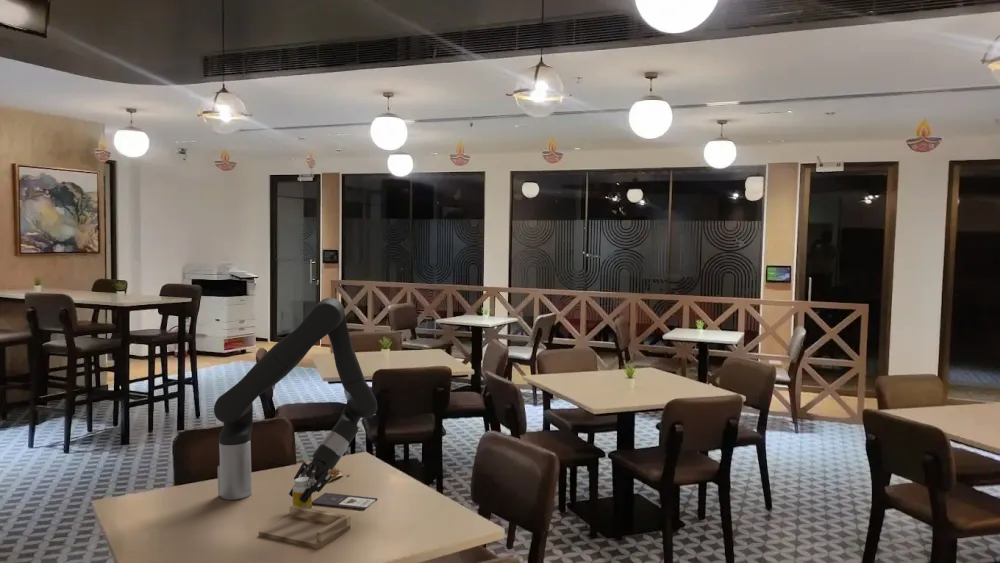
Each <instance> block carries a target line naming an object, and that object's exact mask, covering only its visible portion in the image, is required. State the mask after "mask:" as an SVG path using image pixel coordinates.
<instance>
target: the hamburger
mask: <svg viewBox="0 0 1000 563" xmlns="http://www.w3.org/2000/svg"><path fill="white" fill-rule="evenodd" d="M340 470H341V469H339V468H336V466H335V467H334V468H333V469H332V470H330V469H329V470H328V473H329V474H330V475H332V478H331V479H330V480H329V481H328V482H327V483H330V482H331V481H333V480H336V479H337V478H339V477H340V476H342V475H343V474H342V473H341V471H340ZM345 475H346V476H345V477H346V478H349V476H348V475H349V474H345Z"/></svg>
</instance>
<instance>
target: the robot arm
mask: <svg viewBox="0 0 1000 563" xmlns="http://www.w3.org/2000/svg"><path fill="white" fill-rule="evenodd" d="M326 336H327V337H328V338H329V341H330V343H331V344H330V345H331V348H332V352H333V359H334V364H335V367H336V370H337V374H338V376H339V379H340V382H341V385H342V387H343V389H344V390H345V392H347V393H349V395H350V396H351V398H349V399H348V401H347V402H346V404H345V405H344V408H343V410H342V412H341V414H340V416H339V419H338V421H337V422H336V423H335V425H334V426H333V428H332V429H331V431H329V432H328V434H327V435H326V436H325V437H324V439H322V441H321V443H320V444H319V445H318V447H317V448H316V449H315V451H314V452H313V454H312V459H313V460H311V462H309V463H306V462H305V461H304V462H302V463H301V465H300V467H299V469H298V471H297V472H296V474H295V475H294V477H293V479H294V481H295V479H297V478H300V477H307V478H309V485H308V489H307V488H306V490H305V491H304V492H303V494H302V495H301V497H300V498H299V500H300V501H302V502H303V503H306V501H307V500H308V499H309V497H310V496H311V497H312V495H313V493H316V492H317V493H320V492H321V491H322V489H323V488H324V487H325V486H326V485H327V484H328V483H329V482H328V481H329V480H330V479H331V478H332V475H330V474H329V473H328V470H329V469H330V470H332V469H333V468H334V467H336V465H337V464H338V462H339V461H340V459H341V458H342V456H343V455H344V454H345V452H346V451H347V449H348V448H349V445H350V444H351V442H352V441H353V439H354V438H355V437H356V436H357V434H358V433H359V432H358V431H359V426H358V423H359V421H360V419H361V418H362V419H370V418H372V417H374V416H375V415H376V413H377V411H378V402H377V399H376V397H375V394H374V393H373V390H372V388H370V387H371V386H369V384H368V383H367V381H366V379H365V376H364V373H363V371H362V367H361V366H360V362H359V360H358V357H357V355H356V351H355V350H354V346H353V343H352V339H351V336H350V333H349V329H348V324H347V319H346V314H345V308H344V305H343V304H342V303H341V301H340V300H338V299H336V298H335V297H334V298H333V297H326V298H323V299H322V300H320V301H319V302H318V303H317V304H315V306H313V308H312V309H311V311H310V313H308V315H307V316H306V317H305V318H304V320H303V321H302V322H301V323H300V324H299V325H298V326H297V327H296V328H295V329H294V330H293V331H291V332H290V333H288V335H286V336H284V337H283V338H282V339H280V340H279V341H278V342H277V343H276V344H274V345H272V347H271V348H270V349H269V350H267V352H266V353H265V354H264V355H263V356H262V357H260V359H259V360H258V361H257V362H256V363H255V364H254V365H253V367H252V368H251V369H250V370H249V371H247V373H246V375H244V376H243V377H242V378H241V379H240V380H239V381H238V382H237V383H236V384H234V385H233V386H232V387H231V388H229V389H228V390H227V391H226V392H224V393H223V394H222V395H220V396H219V397H218V398H217V399H216V400H215V403H214V405H213V414H214V417H215V418H216V419H217V421H219V422H221V423H223V427H222V429H221V430H220V433H219V435H218V445H219V446H218V448H219V449H218V450H219V465H218V466H217V494H218V495H217V496H218V497H220V498H221V499H224V500H228V501H231V500H241V499H244V498H248V497H250V496H251V495H252V490H253V487H252V451H251V449H252V448H251V447H252V444H251V443H252V442H251V435H252V431H253V425H254V424H253V420H254V419H253V418H254V417H253V415H254V409H253V408H254V406H253V404H254V401H255V400H256V399H257V398H258V397H260V395H262V394H263V393H265V392H266V391H268V390H269V389H270V388H272V387H274V386H275V385H277V383H279V382H280V381H281V380H283V379H284V378H285V377H287V375H289V373H290V372H291V371H293V370H294V369H295V368H296V367H297V366H298V365H299V363H301V361H302V360H303V359H304V358H305V356H307V353H309V351H310V350H311V349H312V348H313V347H314V346H315V345H316V344H317V343H318V342H320V341H321V340H323V338H324V337H326ZM294 486H296V485H295V484H294V485H293V487H294ZM293 487H292V488H291V490H290V491H289V492H288V495H289V496H290V497H291V498H293Z"/></svg>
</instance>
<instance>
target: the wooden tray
mask: <svg viewBox="0 0 1000 563" xmlns="http://www.w3.org/2000/svg"><path fill="white" fill-rule="evenodd" d="M349 530H351V515H347V514H346V515H345V514H341V513H337V512H332V511H331V512H330V511H325V510H319V509H314V508H312V509H310V508H305V507H299V506H294V505H293V504H292V505H291V506H289V515H288V516H286V517H284V518H282V519H281V520H280V519H279V520H278V521H276V522H274V523H273V524H271V525H269V526H266V527H265V528H262V529H261V530H259V531H258V537H261V538H262V537H263V538H265V539H271V540H276V541H279V542H285V543H289V544H293V545H299V546H303V547H306V548H307V547H308V548H312V549H316V550H319V549H320V548H322V547H323V546H325V545H327V544H329V543H330V542H331V541H333V540H335V539H336V538H338V537H340V536H341V535H343V534H345V533H346V532H347V531H349Z"/></svg>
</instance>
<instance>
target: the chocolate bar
mask: <svg viewBox="0 0 1000 563" xmlns="http://www.w3.org/2000/svg"><path fill="white" fill-rule="evenodd" d="M377 501H378V498H377V497H371V496H370V497H368V496H360V495H349V494H341V493H332V492H324V493H323V494H321V495H320V496H318V497H317V498H315V499H314V500H312V506H321V507H329V508H339V509H347V510H355V511H356V510H357V511H366V509H368V508H369V507H370V506H372V505H373V504H374V503H375V502H377ZM371 504H372V505H371Z"/></svg>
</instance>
